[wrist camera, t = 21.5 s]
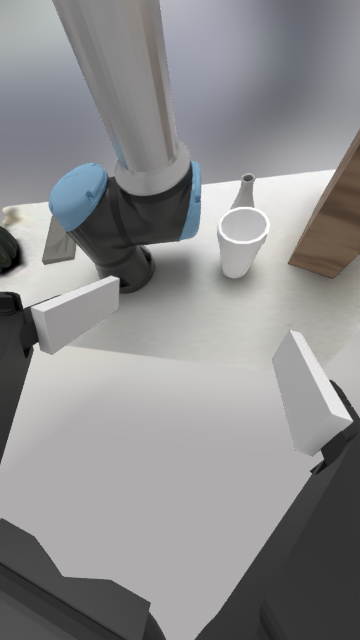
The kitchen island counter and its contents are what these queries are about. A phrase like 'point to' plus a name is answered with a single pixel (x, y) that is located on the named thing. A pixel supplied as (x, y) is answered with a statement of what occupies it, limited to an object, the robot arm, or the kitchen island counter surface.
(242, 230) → the foam cup
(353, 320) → the kitchen island counter surface
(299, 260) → the walnut stand
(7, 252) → the squash
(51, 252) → the soap mold
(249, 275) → the kitchen island counter surface
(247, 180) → the flask
